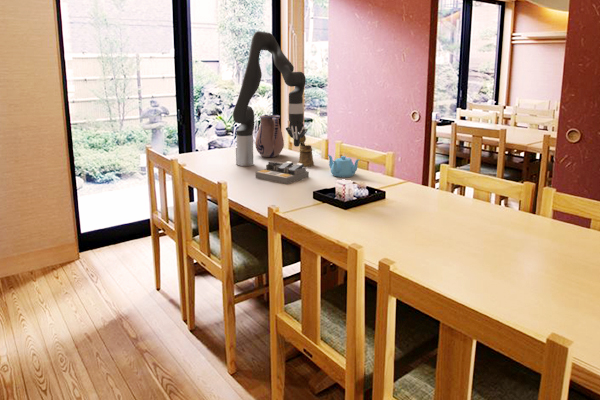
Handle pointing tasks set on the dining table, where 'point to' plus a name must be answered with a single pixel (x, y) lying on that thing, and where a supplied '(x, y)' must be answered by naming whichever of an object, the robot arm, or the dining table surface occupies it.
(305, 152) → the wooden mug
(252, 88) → the robot arm
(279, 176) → the switch unit
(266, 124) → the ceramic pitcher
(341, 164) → the teapot
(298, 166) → the rocker
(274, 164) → the rocker
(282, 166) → the rocker
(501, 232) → the dining table surface
